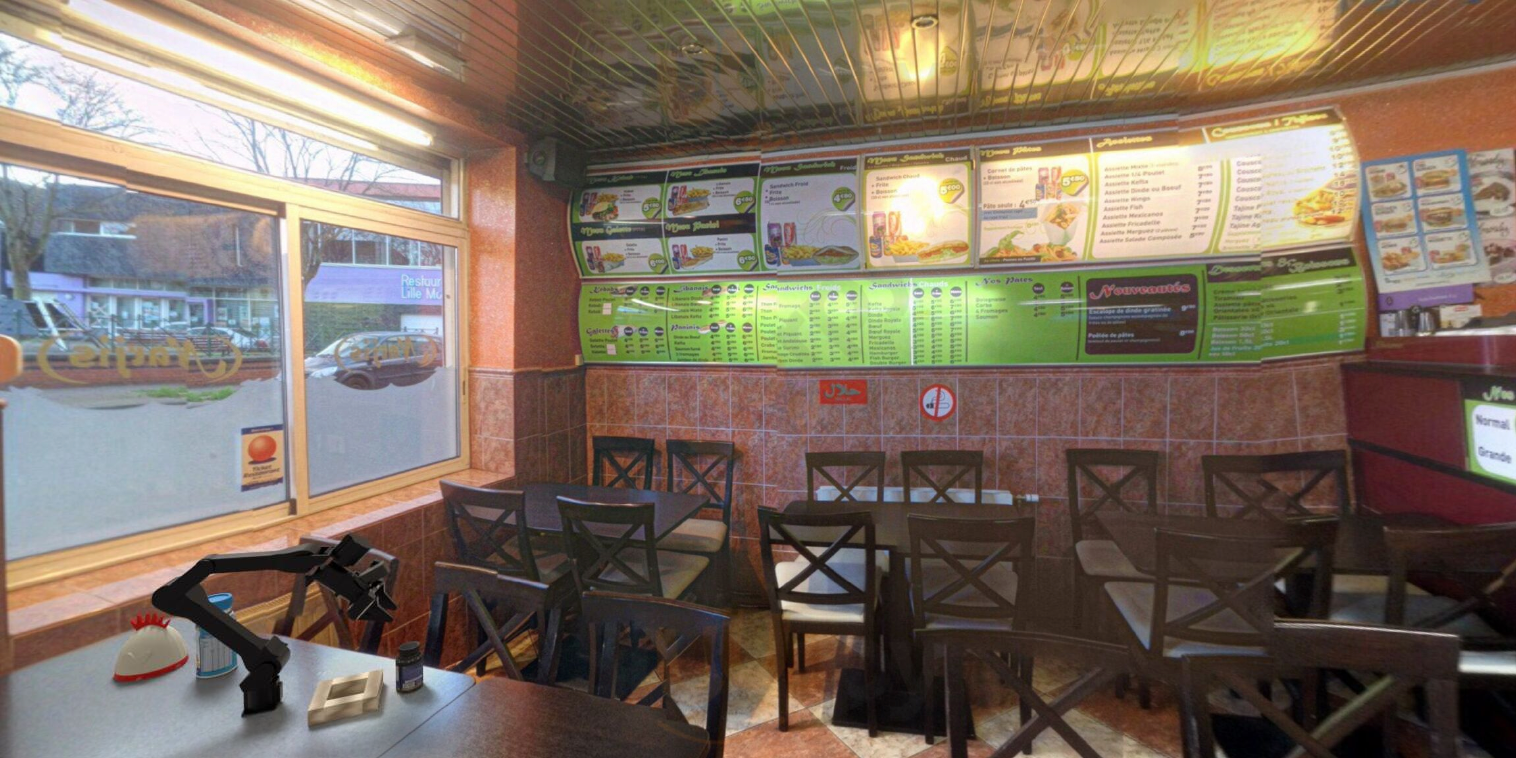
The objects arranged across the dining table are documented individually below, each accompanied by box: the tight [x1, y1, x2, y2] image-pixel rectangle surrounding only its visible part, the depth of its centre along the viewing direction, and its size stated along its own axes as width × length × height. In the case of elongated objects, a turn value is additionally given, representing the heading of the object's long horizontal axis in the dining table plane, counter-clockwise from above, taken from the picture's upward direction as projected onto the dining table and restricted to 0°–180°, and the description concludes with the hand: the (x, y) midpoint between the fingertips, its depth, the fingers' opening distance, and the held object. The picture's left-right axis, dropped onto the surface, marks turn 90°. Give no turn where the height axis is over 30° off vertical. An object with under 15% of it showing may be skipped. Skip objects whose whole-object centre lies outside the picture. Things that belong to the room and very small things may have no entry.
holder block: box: [307, 668, 384, 727], centre depth 144 cm, size 14×14×4 cm
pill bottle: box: [395, 640, 424, 694], centre depth 151 cm, size 6×6×11 cm
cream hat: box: [113, 611, 189, 683], centre depth 158 cm, size 14×14×15 cm
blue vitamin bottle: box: [194, 592, 238, 679], centre depth 156 cm, size 8×8×20 cm
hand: (394, 614), depth 151 cm, fingers open, 9 cm apart
